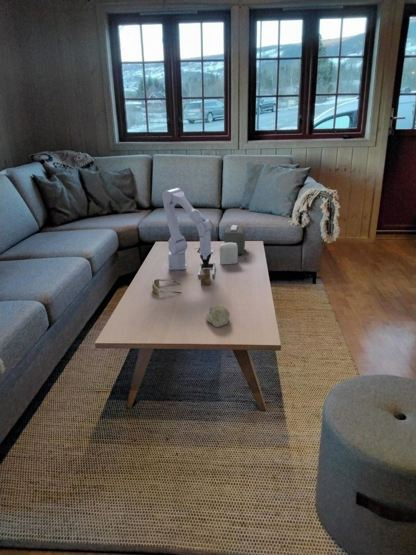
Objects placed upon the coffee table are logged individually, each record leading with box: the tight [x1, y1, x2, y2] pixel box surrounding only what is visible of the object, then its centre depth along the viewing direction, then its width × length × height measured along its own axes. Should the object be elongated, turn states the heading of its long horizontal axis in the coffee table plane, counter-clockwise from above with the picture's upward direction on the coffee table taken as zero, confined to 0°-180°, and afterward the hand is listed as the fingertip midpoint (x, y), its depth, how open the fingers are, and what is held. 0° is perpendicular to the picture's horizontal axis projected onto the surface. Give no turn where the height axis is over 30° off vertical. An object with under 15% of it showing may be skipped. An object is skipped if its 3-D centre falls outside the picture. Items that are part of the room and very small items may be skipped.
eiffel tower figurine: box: [193, 246, 214, 256], centre depth 256 cm, size 15×10×13 cm
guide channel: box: [197, 262, 216, 279], centre depth 226 cm, size 8×16×2 cm, turn 177°
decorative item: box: [205, 304, 231, 328], centre depth 175 cm, size 12×9×10 cm
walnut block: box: [200, 269, 211, 287], centre depth 213 cm, size 4×8×6 cm, turn 178°
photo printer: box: [219, 242, 239, 265], centre depth 235 cm, size 10×4×12 cm, turn 98°
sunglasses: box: [151, 278, 183, 296], centre depth 207 cm, size 14×15×5 cm
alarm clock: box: [223, 224, 246, 256], centre depth 253 cm, size 16×11×16 cm
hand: (206, 267), depth 221 cm, fingers closed
